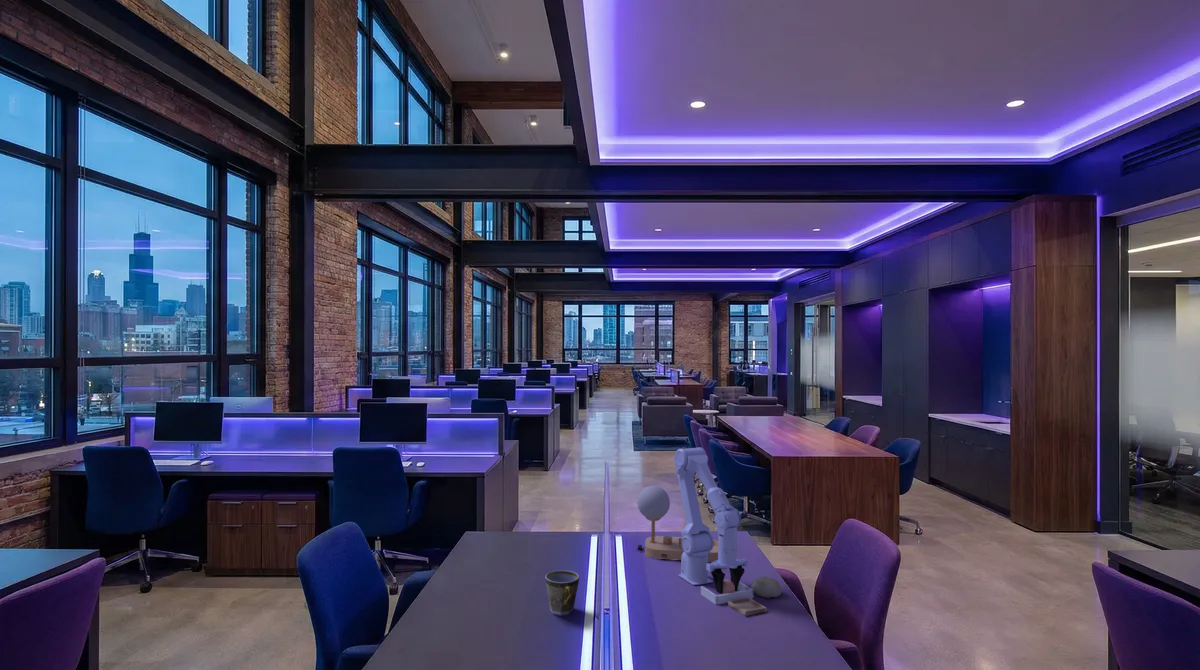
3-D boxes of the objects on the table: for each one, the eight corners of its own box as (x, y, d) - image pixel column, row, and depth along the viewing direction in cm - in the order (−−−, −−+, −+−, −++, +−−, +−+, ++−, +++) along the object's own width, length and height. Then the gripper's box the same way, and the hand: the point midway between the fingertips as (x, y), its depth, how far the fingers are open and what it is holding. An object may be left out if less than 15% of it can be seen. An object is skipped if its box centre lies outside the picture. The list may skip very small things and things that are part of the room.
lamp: (720, 548, 232) (721, 484, 233) (725, 564, 215) (726, 494, 216) (637, 544, 236) (638, 480, 237) (634, 558, 219) (636, 490, 219)
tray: (727, 605, 178) (728, 601, 178) (749, 601, 182) (749, 597, 182) (744, 616, 171) (744, 611, 171) (766, 611, 174) (766, 607, 174)
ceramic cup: (540, 605, 175) (541, 572, 175) (572, 601, 179) (573, 568, 179) (552, 624, 163) (553, 588, 163) (586, 619, 166) (587, 584, 167)
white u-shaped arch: (700, 594, 186) (700, 586, 186) (737, 588, 192) (737, 580, 192) (716, 604, 179) (716, 596, 179) (753, 597, 184) (753, 589, 185)
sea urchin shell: (785, 595, 183) (767, 575, 184) (767, 611, 184) (748, 591, 185) (782, 583, 192) (765, 564, 193) (765, 599, 192) (747, 580, 194)
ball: (715, 594, 187) (715, 578, 187) (728, 591, 189) (728, 576, 189) (725, 600, 182) (725, 583, 182) (738, 597, 184) (738, 581, 184)
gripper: (715, 554, 179) (715, 599, 179) (753, 549, 185) (753, 592, 185) (702, 547, 186) (702, 591, 185) (739, 542, 192) (739, 584, 191)
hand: (726, 591), depth 185 cm, fingers closed on ball, 5 cm apart
